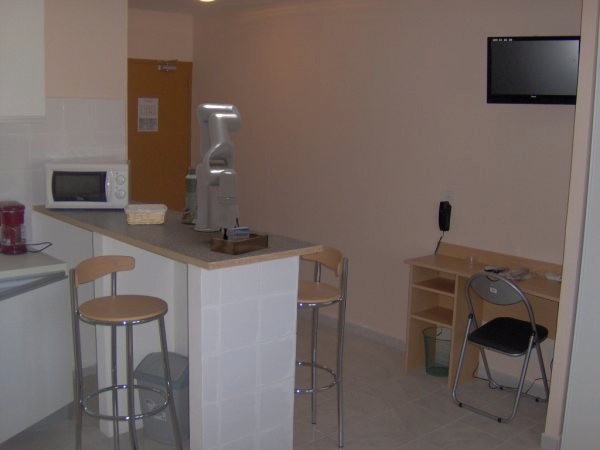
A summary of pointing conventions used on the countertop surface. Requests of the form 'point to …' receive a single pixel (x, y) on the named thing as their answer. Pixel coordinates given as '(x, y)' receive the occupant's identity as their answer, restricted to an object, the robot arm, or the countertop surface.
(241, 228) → the medicine box
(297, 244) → the countertop surface
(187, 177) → the bottle
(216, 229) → the robot arm
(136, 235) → the countertop surface
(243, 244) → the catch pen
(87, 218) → the countertop surface
